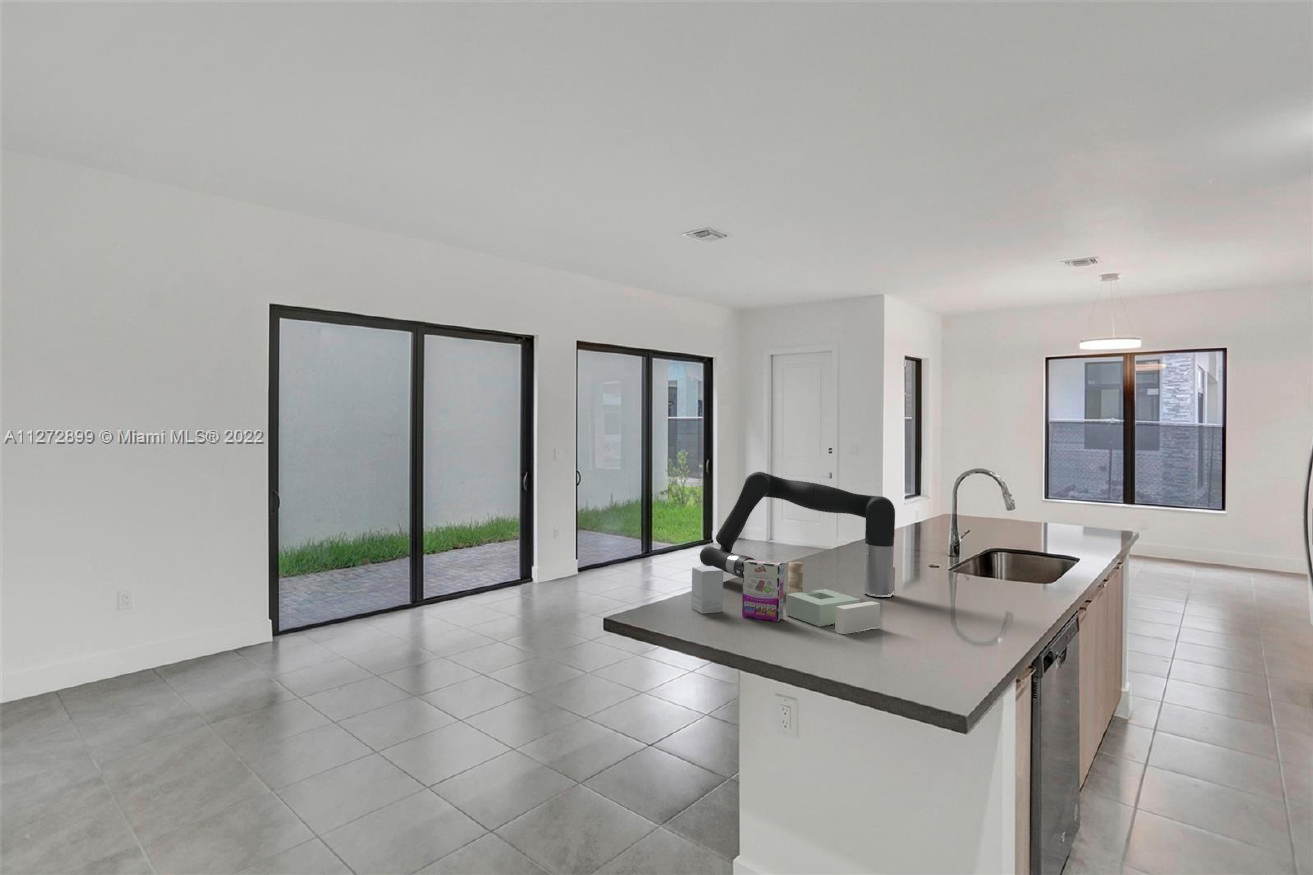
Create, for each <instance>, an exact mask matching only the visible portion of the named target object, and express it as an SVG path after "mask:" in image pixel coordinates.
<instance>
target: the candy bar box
mask: <svg viewBox="0 0 1313 875" xmlns="http://www.w3.org/2000/svg"><path fill="white" fill-rule="evenodd" d="M784 576H785V563H784V562H779V561H778V562H776V561H768V560H760V559H755V560H751V559H748V560H746V561H744V562H743V578H742V602H741V603H742V607H741V608H742V609H741V611H742V612H741V613H742V614H741V617H743V618H749V619H754V620H761V621H768V622H775V623H779V622H781V621H782V620H783V619H784V587H785V586H784V585H785V584H784V583H785V582H784V579H785V577H784ZM782 618H783V619H782ZM781 619H782V620H781Z"/></svg>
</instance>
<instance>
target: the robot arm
mask: <svg viewBox="0 0 1313 875" xmlns="http://www.w3.org/2000/svg"><path fill="white" fill-rule="evenodd" d="M763 498H773V499H779V500H784V501H787V502H790V503H793V504H794V505H797V506H799V507H802V508H804V509H805V508H806V509H808V510H811V511H818V512H822V513H830V514H831V513H832V514H848V515H849V514H850V515H852V516H853V515H854V516H857V517H861V518H864V519H865V531H864V532H865V533H864V537H865V538H864V542H865V543H864V571H863V572H864V576H863V577H864V579H863V580H864V581H863V582H864V583H863V592H864V591H865V592H867V593H870V594H875V595H888V594H891V593H892V592H893V591H894V592H896V591H895V588H896V587H895V582H896V568H895V567H894V552H895V551H894V550H895V549H894V548H895V545H894V544H895V533H896V531H895V528H896V526H895V525H896V509H895V506H894V503H893V502H892V501H891V500H890V499H889V498H887V497H885V496H880V495H879V496H877V495H868V494H867V495H866V494H859V493H853V492H850V491H848V490H847V491H846V490H844V489H840V488H837V487H833V486H829V485H826V484H819V483H816V482H809V481H802V480H794V479H793V480H792V479H785V478H782V477H779V476H775V475H772V474H769V473H766V472H764V471H756V472H755V471H754V472H752V473H751V474H749V475H748V476H747V477H746V478H745V481H744V484H743V487H742V490H741V492H740V494H739V496H738V499H737V501H736V503H735V505H734V506H733V508H732V509H731V511H730V513H729V514H728V516H727V517H726V519H725V521H724V522H723V524H722V525H721V527H720V529H719V530H718V532H717V534H716V536H715V541H716V542H717V543H718V544H719V545H720V548H716V547H713V546H705V547H704V548H703V549H702V550H701V551H700V553H699V560H700V561H701V563H702V564H703V565H704V566H714V567H716V568H719V569H721V570H723V572H724V573H728V574H731V575H732V576H734V577H738V578H741V579H743V562H744V561H746V560H748V559H751V560H756V559H755V558H753V557H751V556H747V555H744V554H738V553H733V552H732V551H733V548H734V545H735V543H736V542H737V540H738V538H739V537H740V535H741V533H742V531H743V529H744V527H745V525H746V523H747V521H748V519H749V517H750V516H751V513H752V512H753V510H754V509H755V508H756V506H757V505H758V504H759V503H760V501H761V500H763Z"/></svg>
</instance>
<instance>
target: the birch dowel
mask: <svg viewBox="0 0 1313 875" xmlns="http://www.w3.org/2000/svg"><path fill="white" fill-rule="evenodd" d="M787 572H788V574H787V576H788V577H787V578H788V581H787V582H788V583H787V594H791V593H799V592H804V591H803V590H804V589H803V587H804V586H803V585H804V581H803V580H804V563H803V562H801V561H790V562H789V561H788V571H787Z"/></svg>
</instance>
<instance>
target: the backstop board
mask: <svg viewBox="0 0 1313 875" xmlns="http://www.w3.org/2000/svg"><path fill="white" fill-rule="evenodd" d="M880 622H881V603H880V602H876V601H872V600H871V601H864V602H861V603H856V604H850V605H843V606H836V619H835V624H834V625H835V626H834V628H835V629H834V632H835V631H836V632H840V633H842V634H845V633H849V632H856V631H860V630H864V629H867V628H871V627H878V626H881V625H880ZM836 632H835V633H836Z"/></svg>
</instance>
